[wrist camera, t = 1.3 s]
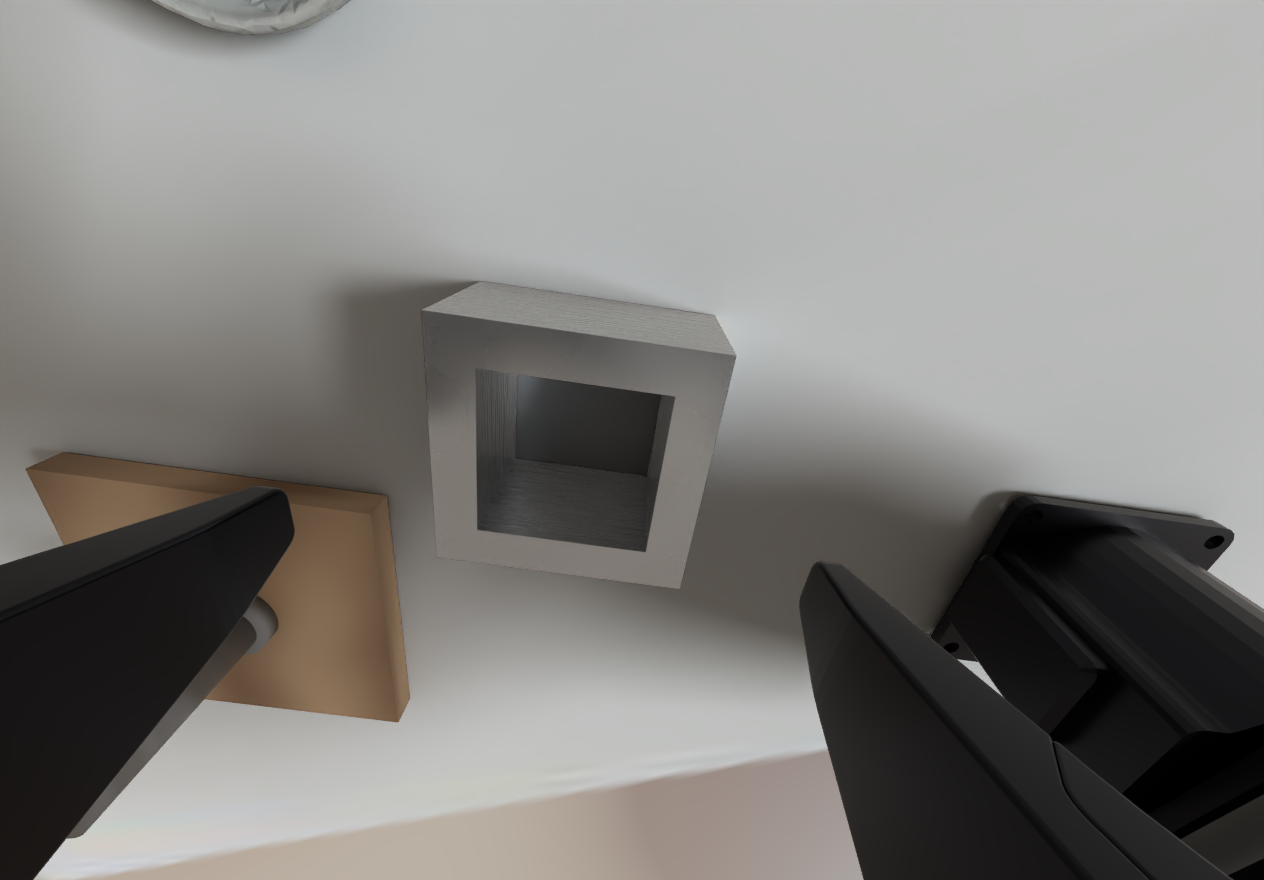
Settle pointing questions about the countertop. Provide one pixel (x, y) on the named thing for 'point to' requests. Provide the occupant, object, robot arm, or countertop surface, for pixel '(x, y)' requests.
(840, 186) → the countertop surface
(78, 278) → the countertop surface
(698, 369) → the grey square socket
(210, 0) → the ceramic mug
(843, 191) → the countertop surface
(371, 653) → the keeper
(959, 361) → the countertop surface
